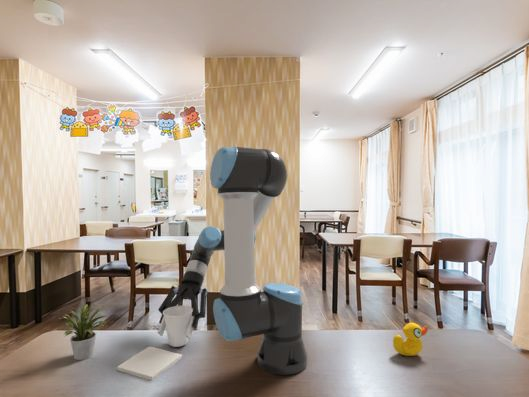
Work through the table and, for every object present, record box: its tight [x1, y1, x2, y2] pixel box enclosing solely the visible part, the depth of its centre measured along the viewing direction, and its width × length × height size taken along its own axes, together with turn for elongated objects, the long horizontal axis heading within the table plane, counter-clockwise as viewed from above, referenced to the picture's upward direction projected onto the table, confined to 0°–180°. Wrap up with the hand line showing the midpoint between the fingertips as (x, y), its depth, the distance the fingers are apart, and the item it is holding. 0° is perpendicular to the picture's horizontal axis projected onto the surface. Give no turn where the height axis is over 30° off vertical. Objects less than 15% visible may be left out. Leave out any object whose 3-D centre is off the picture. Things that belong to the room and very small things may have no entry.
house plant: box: [59, 303, 111, 361], centre depth 99 cm, size 14×14×16 cm
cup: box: [163, 305, 194, 348], centre depth 108 cm, size 10×10×11 cm
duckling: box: [392, 322, 429, 357], centre depth 102 cm, size 11×5×10 cm, turn 98°
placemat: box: [116, 346, 183, 381], centre depth 97 cm, size 13×13×1 cm
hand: (173, 335), depth 105 cm, fingers closed on cup, 9 cm apart
